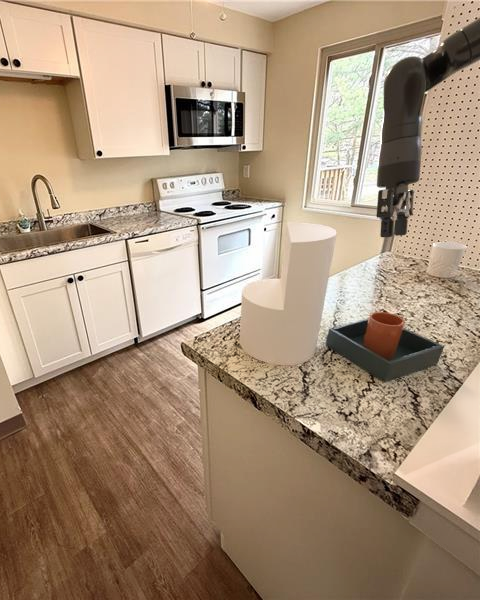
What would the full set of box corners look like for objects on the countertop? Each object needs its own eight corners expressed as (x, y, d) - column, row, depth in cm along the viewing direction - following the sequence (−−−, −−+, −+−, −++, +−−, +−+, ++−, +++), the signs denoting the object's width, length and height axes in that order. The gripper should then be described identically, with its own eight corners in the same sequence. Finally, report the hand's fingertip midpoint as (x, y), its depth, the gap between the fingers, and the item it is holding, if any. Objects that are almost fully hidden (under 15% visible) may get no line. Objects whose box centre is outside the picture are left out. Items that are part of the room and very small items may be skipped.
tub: (372, 331, 77) (377, 315, 75) (437, 364, 64) (444, 346, 62) (325, 345, 74) (328, 328, 72) (384, 382, 61) (389, 364, 59)
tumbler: (375, 341, 72) (384, 309, 69) (401, 355, 67) (412, 322, 63) (355, 348, 71) (362, 315, 67) (380, 362, 66) (390, 328, 62)
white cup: (454, 280, 98) (465, 250, 94) (422, 275, 103) (431, 246, 99) (457, 273, 102) (468, 243, 98) (426, 268, 108) (435, 240, 104)
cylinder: (311, 329, 80) (329, 221, 68) (320, 370, 66) (345, 242, 54) (241, 323, 86) (247, 222, 74) (236, 359, 72) (242, 242, 60)
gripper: (408, 155, 62) (402, 237, 65) (430, 161, 70) (424, 233, 73) (365, 165, 69) (362, 239, 72) (390, 169, 76) (386, 235, 79)
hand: (393, 236), depth 72 cm, fingers open, 8 cm apart
